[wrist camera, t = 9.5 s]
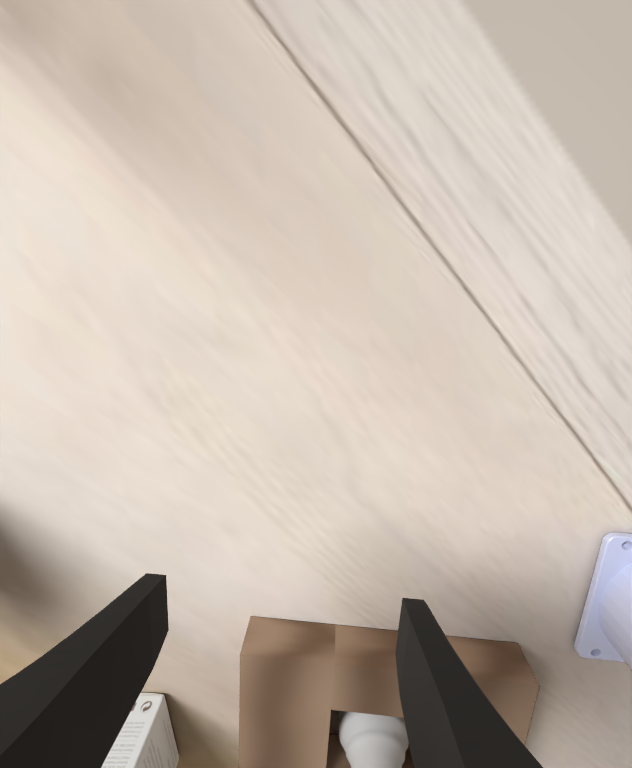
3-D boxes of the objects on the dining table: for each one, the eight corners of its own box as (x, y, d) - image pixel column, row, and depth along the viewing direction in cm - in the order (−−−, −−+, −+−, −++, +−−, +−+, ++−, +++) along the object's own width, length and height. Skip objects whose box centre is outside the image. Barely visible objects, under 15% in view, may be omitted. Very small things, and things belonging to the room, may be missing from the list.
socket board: (517, 643, 22) (539, 686, 20) (484, 788, 25) (500, 841, 22) (250, 616, 23) (240, 654, 20) (248, 759, 26) (238, 808, 23)
